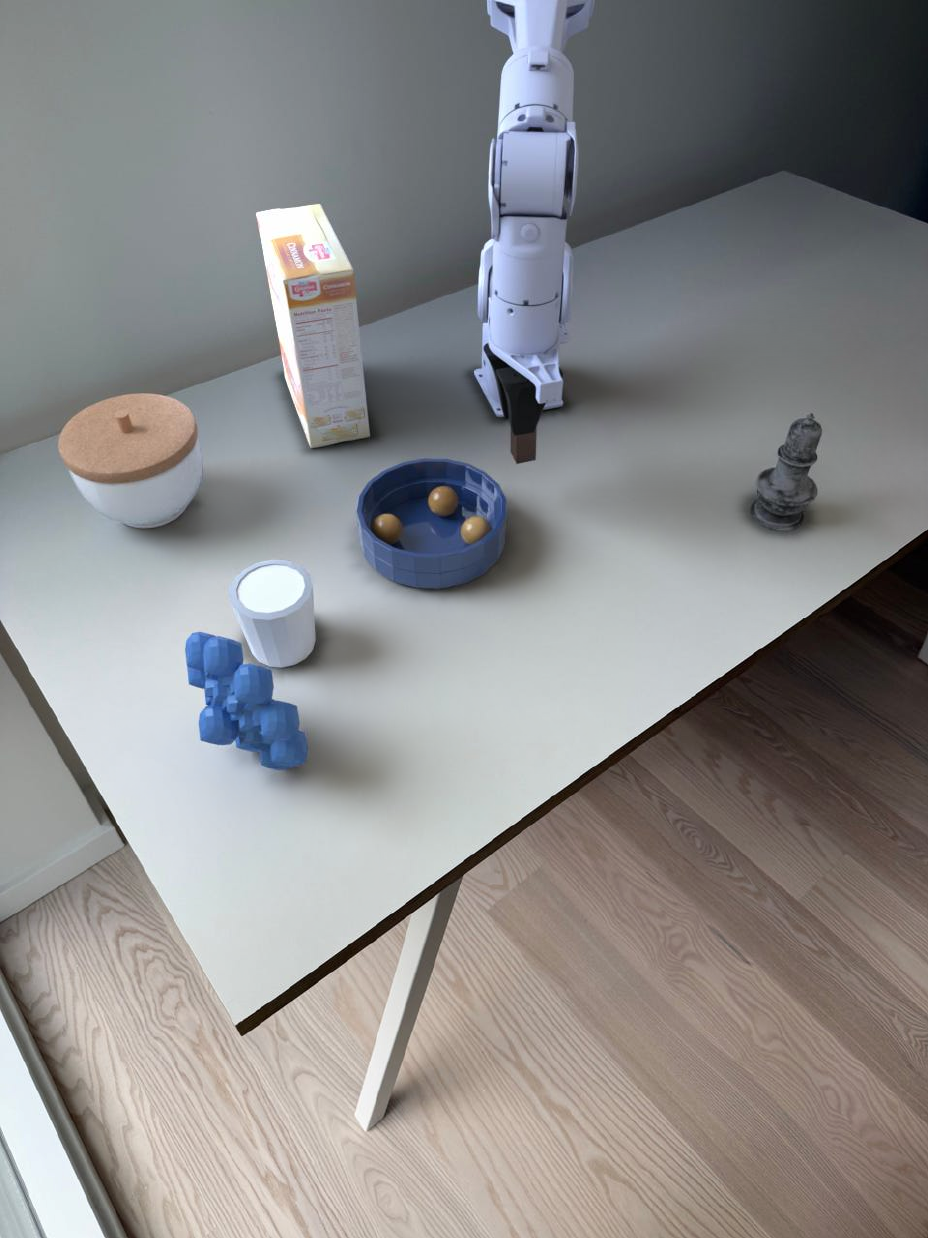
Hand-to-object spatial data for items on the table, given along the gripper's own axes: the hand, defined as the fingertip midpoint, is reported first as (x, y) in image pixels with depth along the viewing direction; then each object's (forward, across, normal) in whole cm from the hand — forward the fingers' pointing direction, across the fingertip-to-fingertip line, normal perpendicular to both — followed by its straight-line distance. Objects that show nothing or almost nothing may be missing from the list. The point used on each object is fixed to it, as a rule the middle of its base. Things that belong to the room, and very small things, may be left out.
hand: (519, 424), depth 84 cm
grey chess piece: (+10, -9, -25) cm, 28 cm away
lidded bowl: (+10, +9, +36) cm, 38 cm away
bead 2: (+7, 0, +8) cm, 11 cm away
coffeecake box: (+10, +21, +16) cm, 28 cm away
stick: (+4, 0, -1) cm, 4 cm away
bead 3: (+7, -6, +6) cm, 11 cm away
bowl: (+9, -4, +10) cm, 14 cm away
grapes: (+9, -24, +30) cm, 39 cm away
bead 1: (+7, -3, +14) cm, 16 cm away
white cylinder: (+9, -13, +26) cm, 30 cm away
